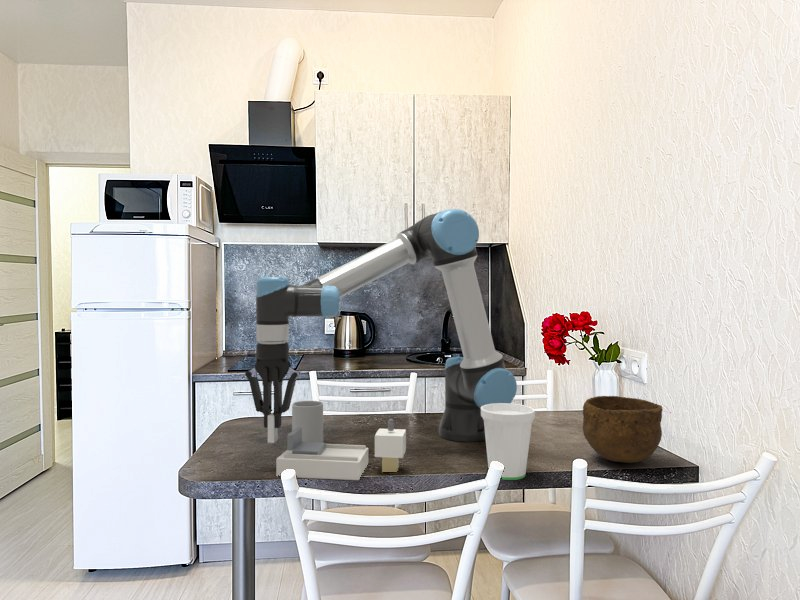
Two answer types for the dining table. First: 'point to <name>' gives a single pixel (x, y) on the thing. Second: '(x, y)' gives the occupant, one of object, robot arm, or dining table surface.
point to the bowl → (622, 427)
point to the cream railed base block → (327, 462)
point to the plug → (390, 446)
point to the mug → (308, 420)
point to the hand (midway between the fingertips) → (272, 441)
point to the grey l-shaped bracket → (303, 444)
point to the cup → (508, 436)
